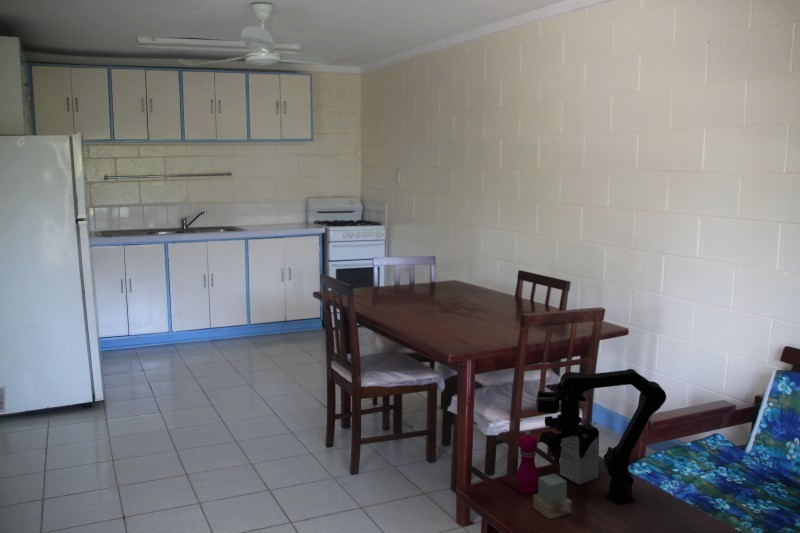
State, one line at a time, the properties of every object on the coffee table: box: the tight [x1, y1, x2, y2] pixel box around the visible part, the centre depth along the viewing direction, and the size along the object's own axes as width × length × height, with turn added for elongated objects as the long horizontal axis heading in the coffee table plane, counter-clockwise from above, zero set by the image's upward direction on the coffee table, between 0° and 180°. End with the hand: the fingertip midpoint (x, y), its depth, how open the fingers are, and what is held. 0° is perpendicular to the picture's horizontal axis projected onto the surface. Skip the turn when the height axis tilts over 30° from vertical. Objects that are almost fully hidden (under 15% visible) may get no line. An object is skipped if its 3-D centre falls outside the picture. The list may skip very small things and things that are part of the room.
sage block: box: [537, 473, 568, 504], centre depth 204 cm, size 6×6×6 cm
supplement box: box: [559, 422, 600, 485], centre depth 226 cm, size 10×9×17 cm
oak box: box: [532, 493, 573, 520], centre depth 205 cm, size 8×8×4 cm
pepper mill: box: [515, 430, 540, 495], centre depth 217 cm, size 7×7×20 cm
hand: (569, 460), depth 212 cm, fingers open, 9 cm apart
